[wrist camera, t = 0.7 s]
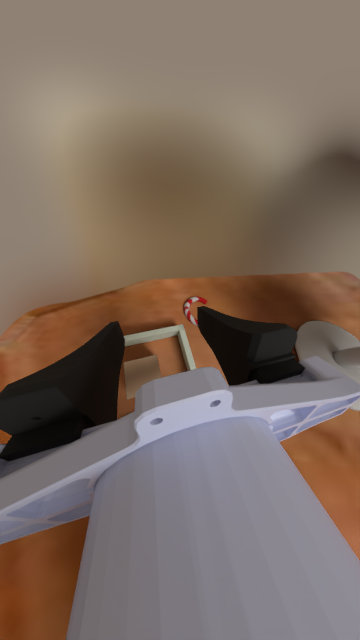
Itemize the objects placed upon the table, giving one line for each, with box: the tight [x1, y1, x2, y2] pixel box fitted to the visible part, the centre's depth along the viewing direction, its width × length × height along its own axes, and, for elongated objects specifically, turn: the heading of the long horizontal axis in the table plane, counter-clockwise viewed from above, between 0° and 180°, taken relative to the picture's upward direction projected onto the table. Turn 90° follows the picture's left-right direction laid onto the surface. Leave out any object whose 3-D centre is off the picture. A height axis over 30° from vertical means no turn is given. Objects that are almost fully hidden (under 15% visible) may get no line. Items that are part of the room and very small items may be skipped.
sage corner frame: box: [124, 324, 196, 371], centre depth 23 cm, size 15×12×3 cm
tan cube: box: [123, 355, 161, 400], centre depth 22 cm, size 5×5×5 cm
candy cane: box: [184, 297, 207, 326], centre depth 31 cm, size 8×1×15 cm
